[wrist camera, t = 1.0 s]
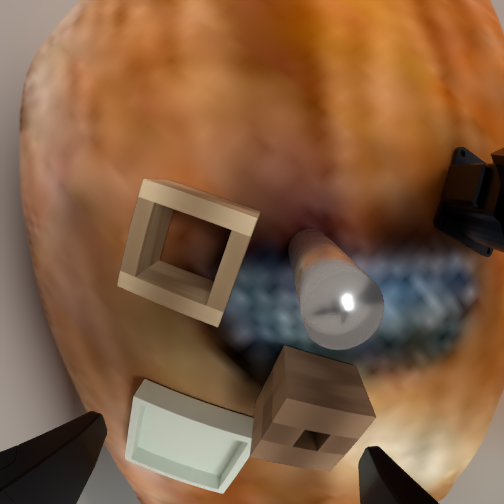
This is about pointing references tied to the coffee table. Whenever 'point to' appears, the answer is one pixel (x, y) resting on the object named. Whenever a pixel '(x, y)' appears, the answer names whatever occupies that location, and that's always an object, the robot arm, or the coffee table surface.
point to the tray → (187, 438)
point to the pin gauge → (333, 292)
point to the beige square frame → (173, 278)
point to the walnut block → (309, 411)
